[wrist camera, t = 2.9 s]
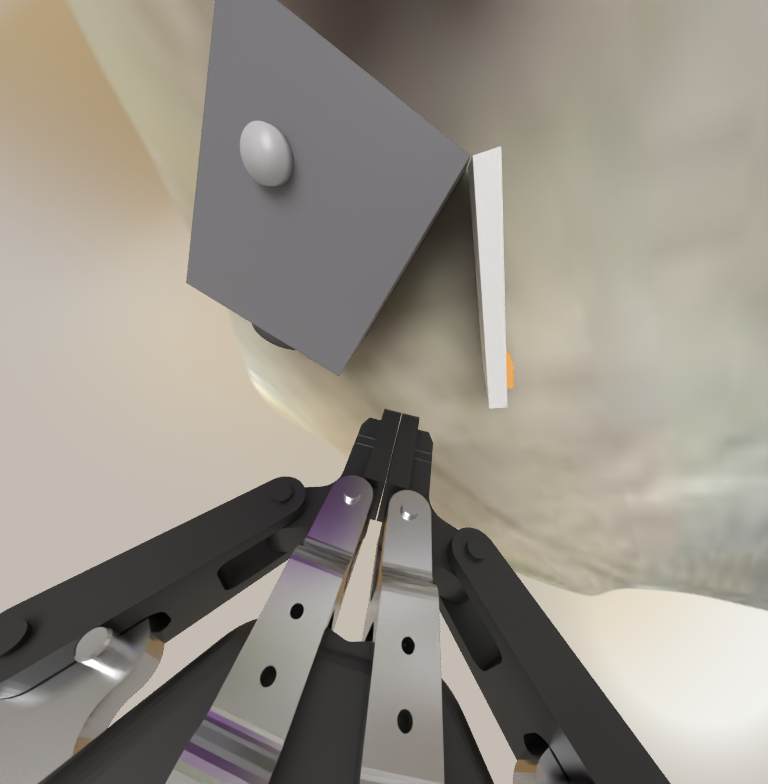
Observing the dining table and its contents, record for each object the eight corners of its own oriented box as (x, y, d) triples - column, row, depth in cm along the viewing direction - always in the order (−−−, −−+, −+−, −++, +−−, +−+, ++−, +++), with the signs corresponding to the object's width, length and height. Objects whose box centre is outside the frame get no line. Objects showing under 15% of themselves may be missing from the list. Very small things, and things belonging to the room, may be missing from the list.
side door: (500, 157, 14) (519, 139, 10) (505, 362, 21) (518, 406, 16) (468, 167, 15) (472, 155, 11) (482, 365, 21) (489, 408, 17)
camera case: (465, 169, 15) (470, 153, 10) (357, 348, 23) (327, 394, 17) (302, 39, 14) (206, -60, 8) (245, 277, 21) (176, 303, 16)
